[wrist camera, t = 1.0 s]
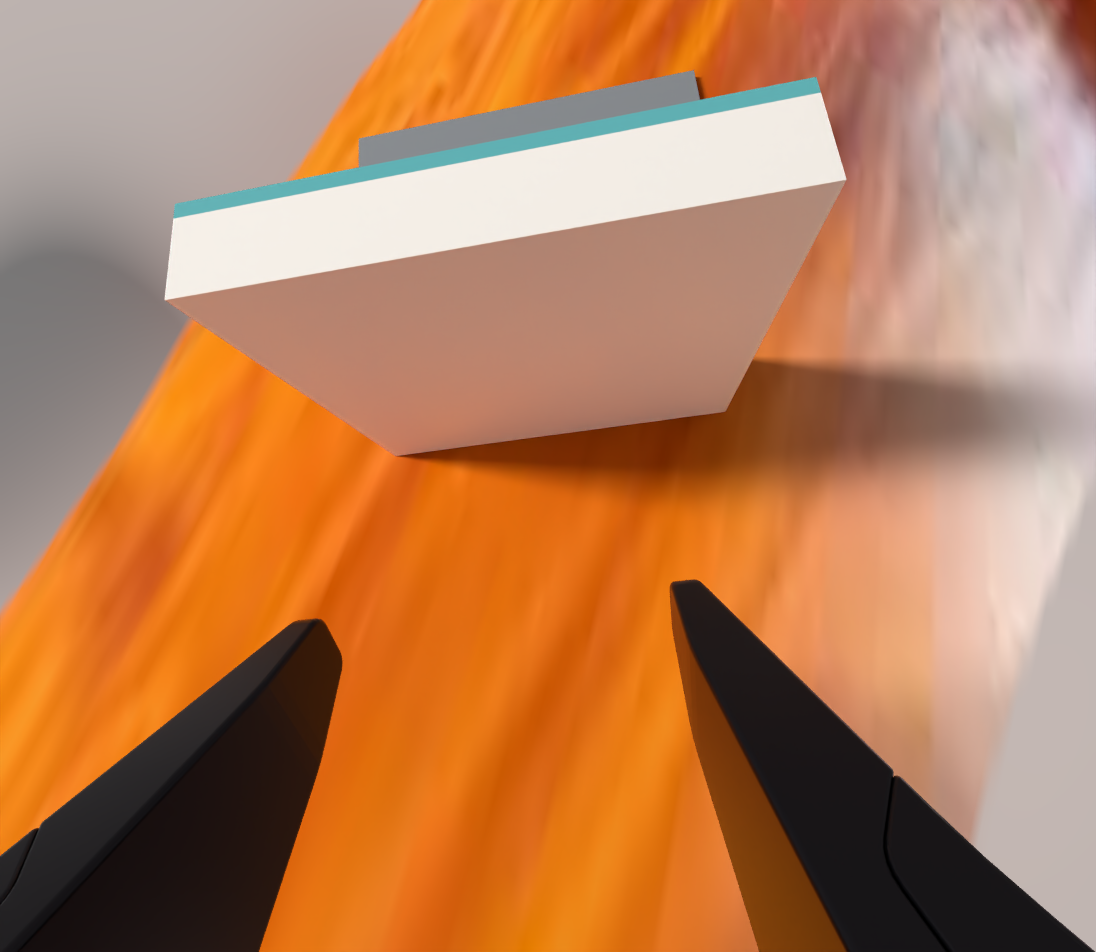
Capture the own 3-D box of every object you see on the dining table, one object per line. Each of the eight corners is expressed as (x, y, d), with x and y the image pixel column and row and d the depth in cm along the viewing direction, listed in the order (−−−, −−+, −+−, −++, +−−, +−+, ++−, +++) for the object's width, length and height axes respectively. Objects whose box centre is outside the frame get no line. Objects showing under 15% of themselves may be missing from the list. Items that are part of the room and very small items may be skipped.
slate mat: (747, 332, 22) (749, 329, 22) (362, 390, 24) (358, 387, 23) (693, 76, 26) (693, 70, 25) (361, 143, 27) (358, 138, 27)
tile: (725, 411, 21) (846, 179, 10) (395, 456, 23) (164, 299, 11) (714, 356, 22) (816, 76, 10) (394, 403, 23) (174, 203, 12)
